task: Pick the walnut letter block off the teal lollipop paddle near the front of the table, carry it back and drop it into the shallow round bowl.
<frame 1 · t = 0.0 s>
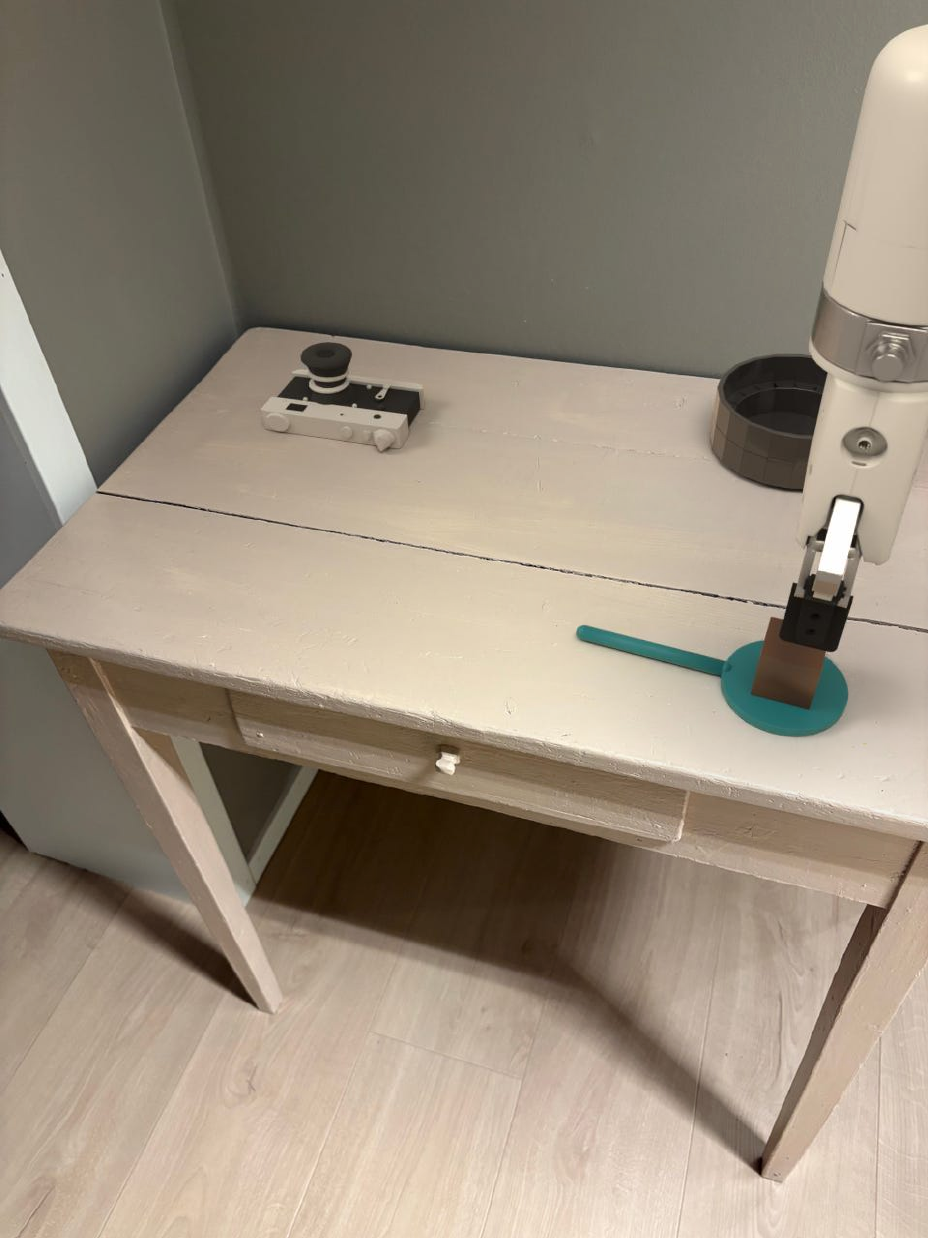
hand: (820, 589, 58), 14 cm above the table, tool pointing down, fingers open, 9 cm apart
block: (784, 682, 71), point 1 cm above the table, touching teal lollipop paddle
camera: (344, 421, 101), on the table
teal lollipop paddle: (782, 689, 71), on the table, touching block
shallow round bowl: (788, 447, 94), on the table
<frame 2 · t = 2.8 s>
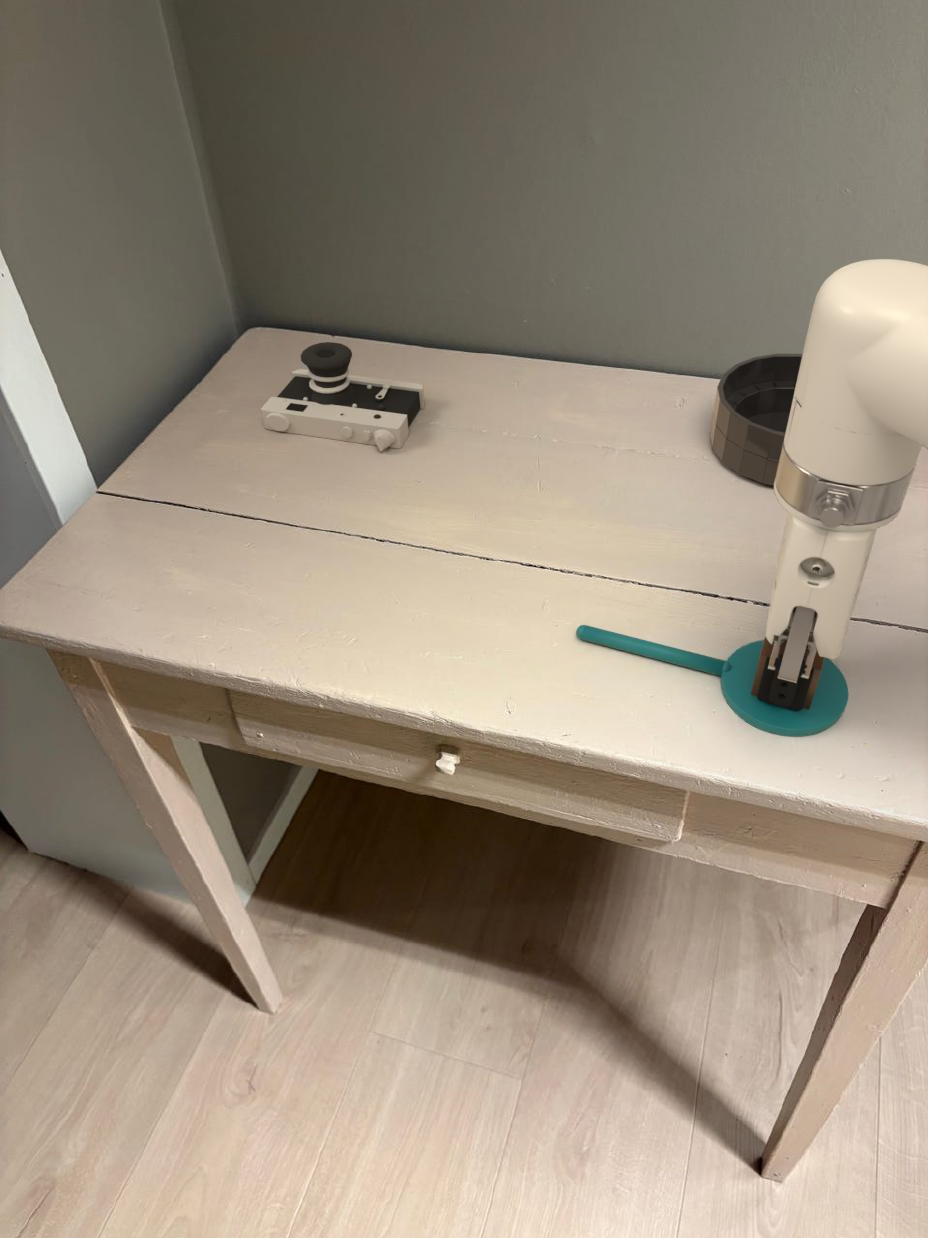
hand: (785, 677, 70), 1 cm above the table, tool pointing down, fingers closed on block, 4 cm apart
block: (784, 682, 71), point 1 cm above the table, touching gripper, teal lollipop paddle
everything else where it was.
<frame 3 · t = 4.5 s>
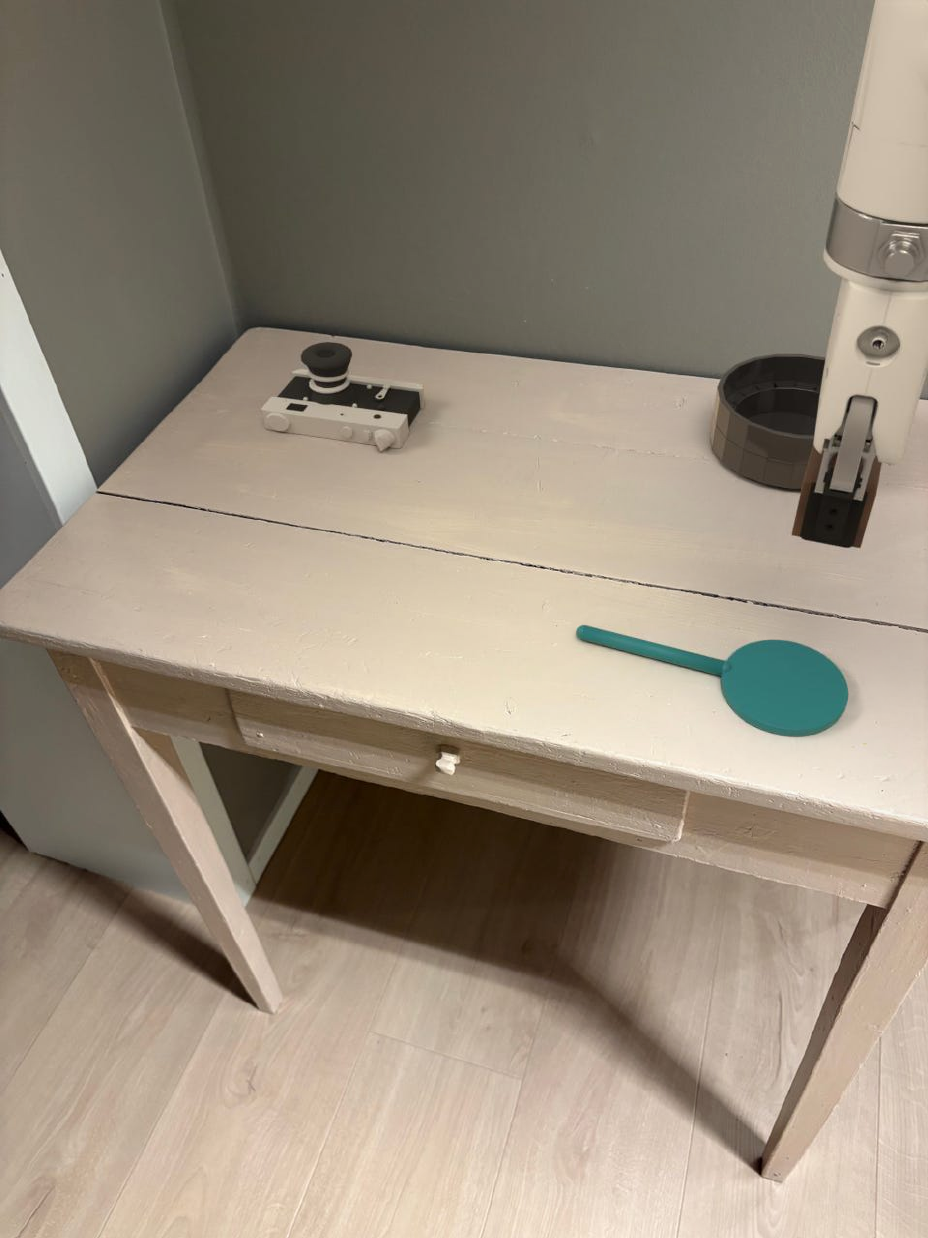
hand: (831, 515, 61), 15 cm above the table, tool pointing down, fingers closed on block, 4 cm apart
block: (829, 522, 62), point 15 cm above the table, touching gripper
teal lollipop paddle: (782, 689, 71), on the table
everything else where it was.
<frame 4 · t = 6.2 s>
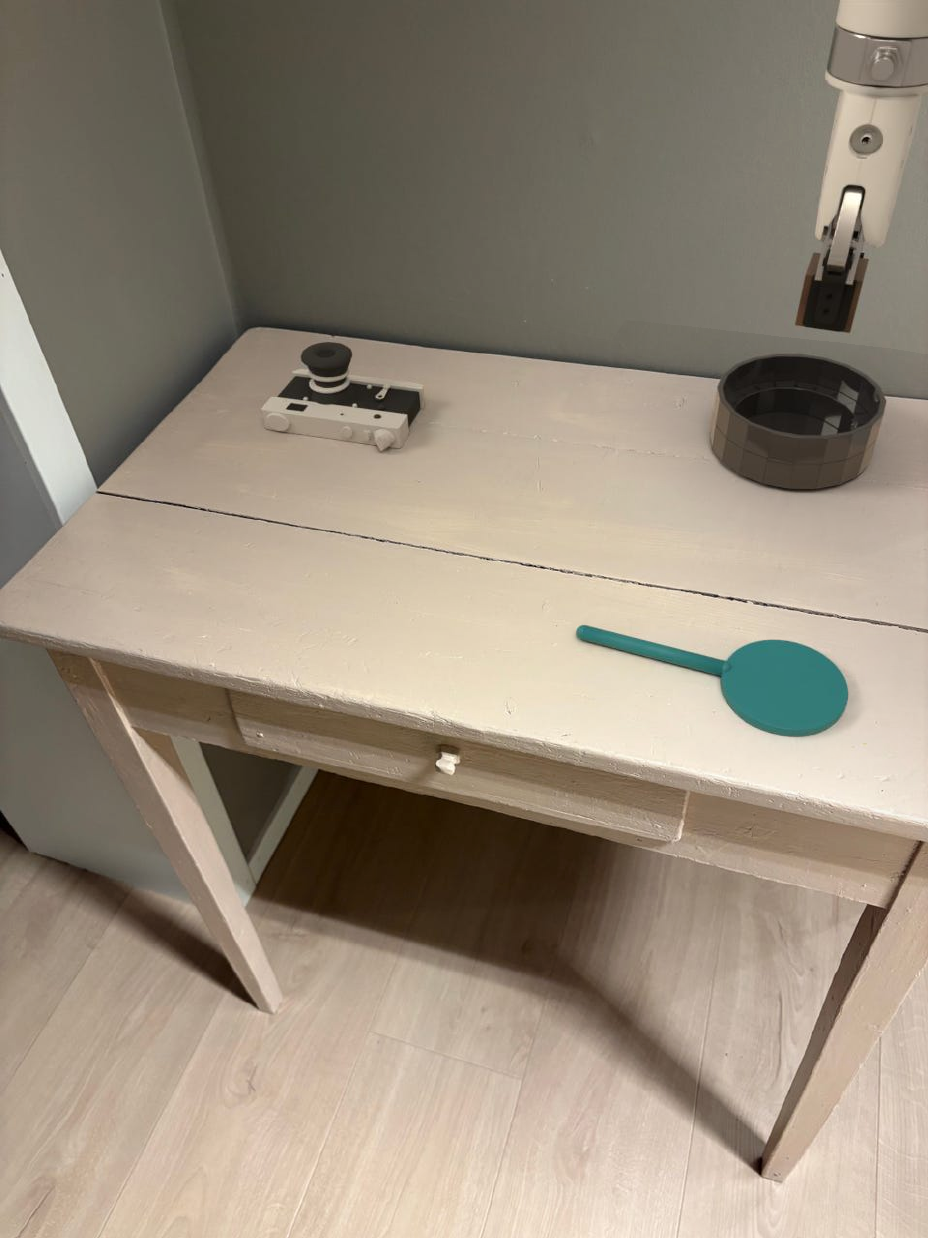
hand: (828, 311, 76), 18 cm above the table, tool pointing down, fingers closed on block, 4 cm apart
block: (825, 317, 77), point 17 cm above the table, touching gripper
everything else where it was.
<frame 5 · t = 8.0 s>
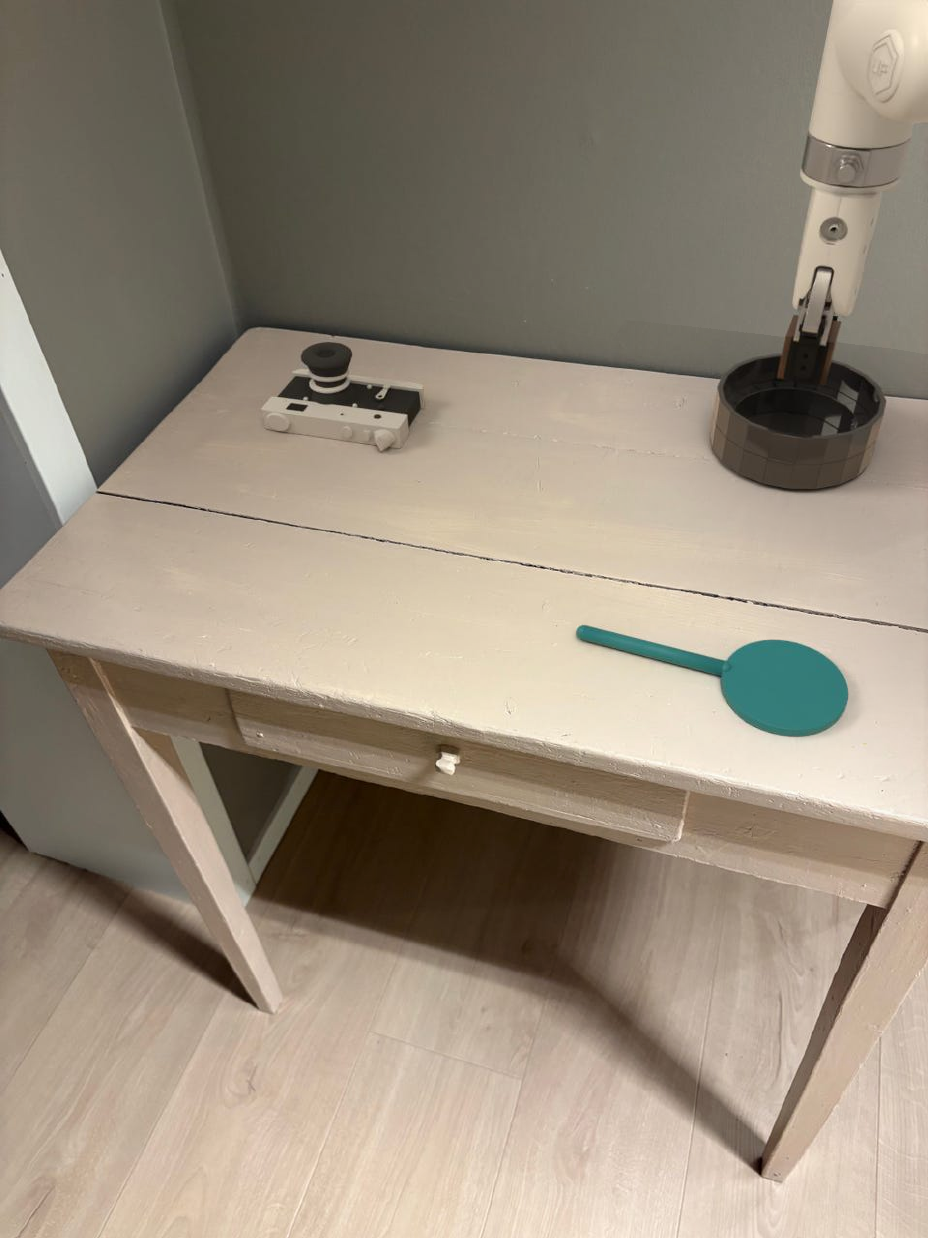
hand: (806, 365, 88), 9 cm above the table, tool pointing down, fingers closed on block, 4 cm apart
block: (804, 370, 88), point 8 cm above the table, touching gripper
everything else where it was.
when the fingers open (5 cm above the table, at t = 9.4 s): block drops 4 cm, resting on shallow round bowl.
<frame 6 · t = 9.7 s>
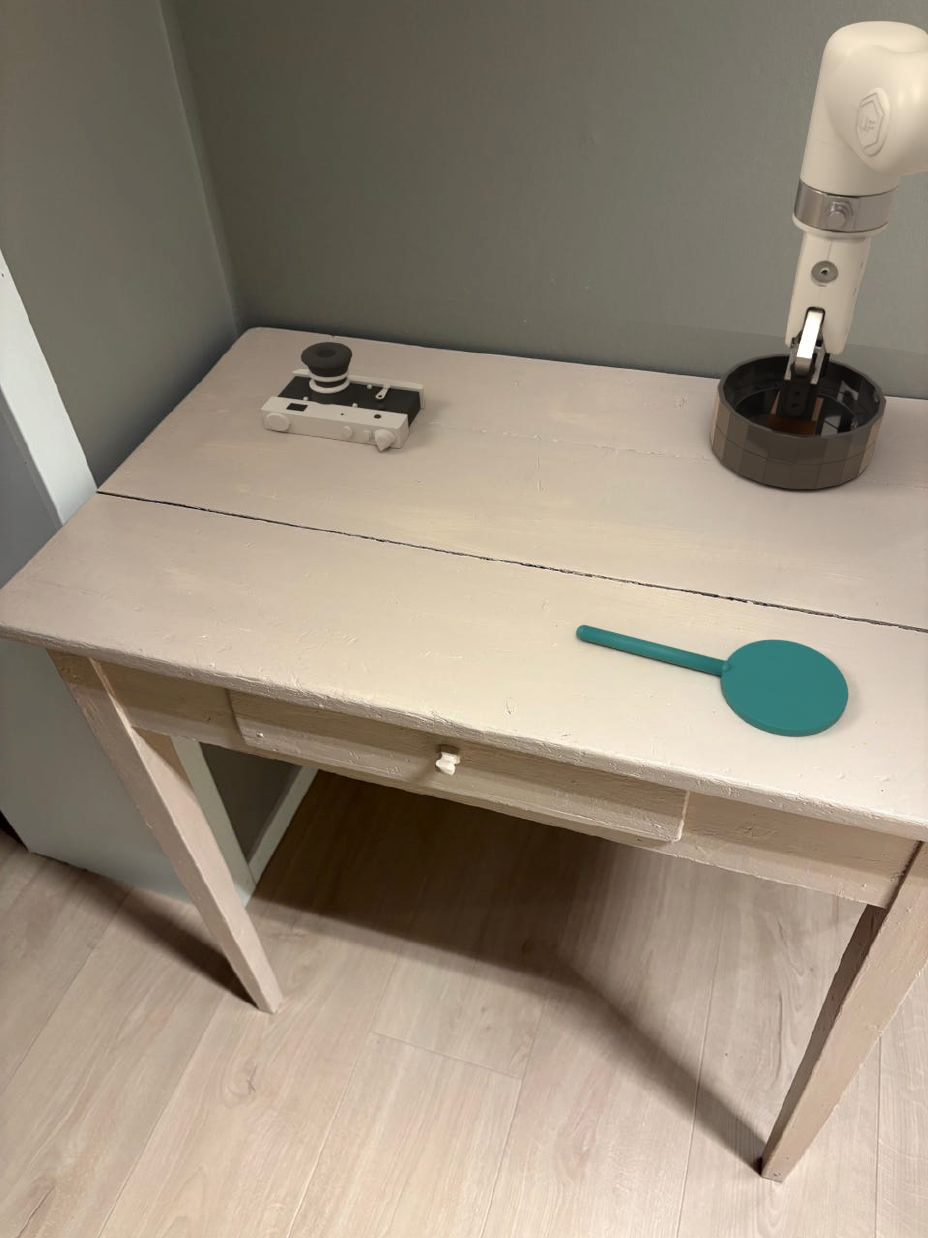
hand: (800, 394, 90), 6 cm above the table, tool pointing down, fingers open, 7 cm apart
block: (788, 442, 93), point 1 cm above the table, touching shallow round bowl
everything else where it was.
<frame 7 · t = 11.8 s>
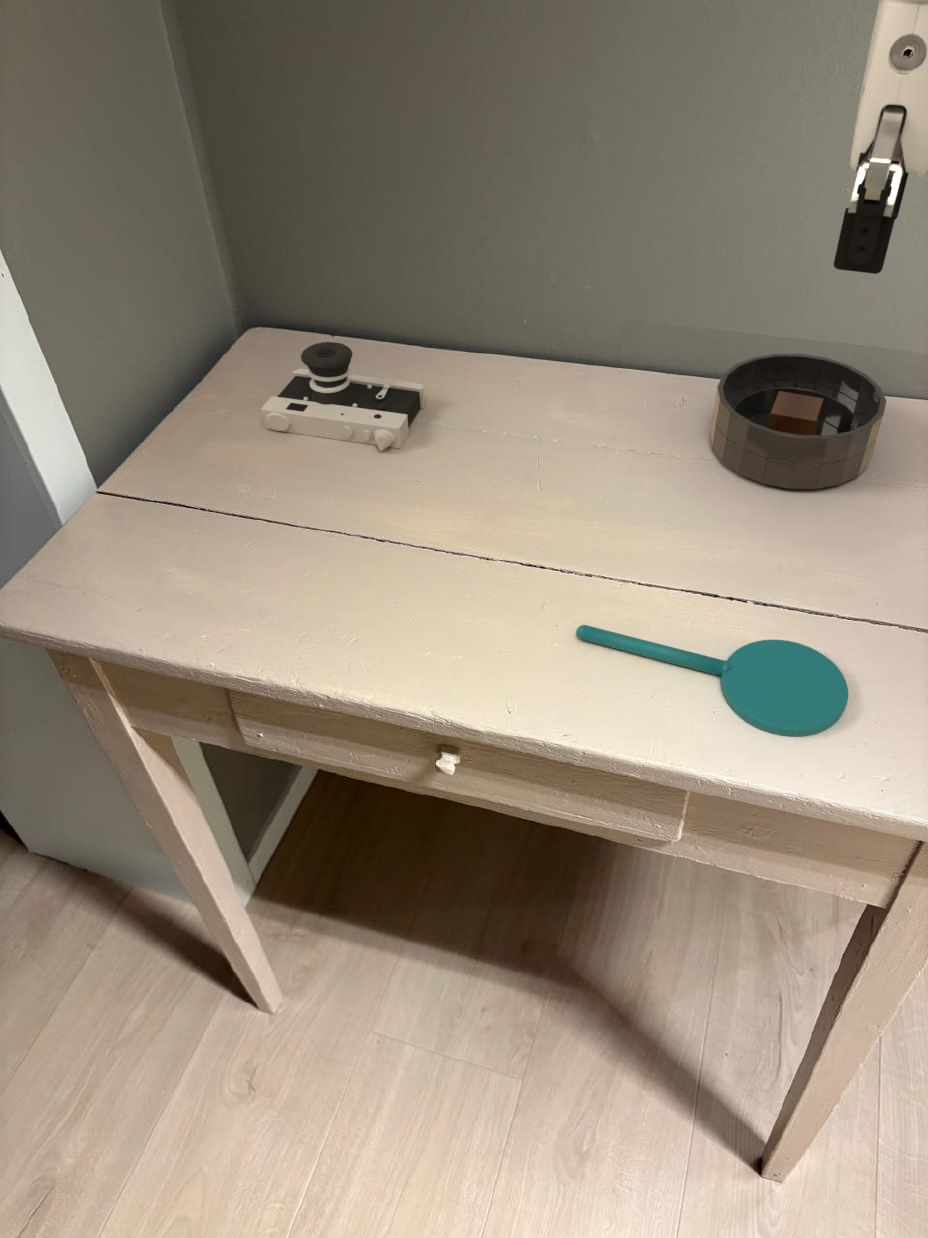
hand: (866, 242, 70), 24 cm above the table, tool pointing down, fingers open, 9 cm apart
nothing on the table moved.
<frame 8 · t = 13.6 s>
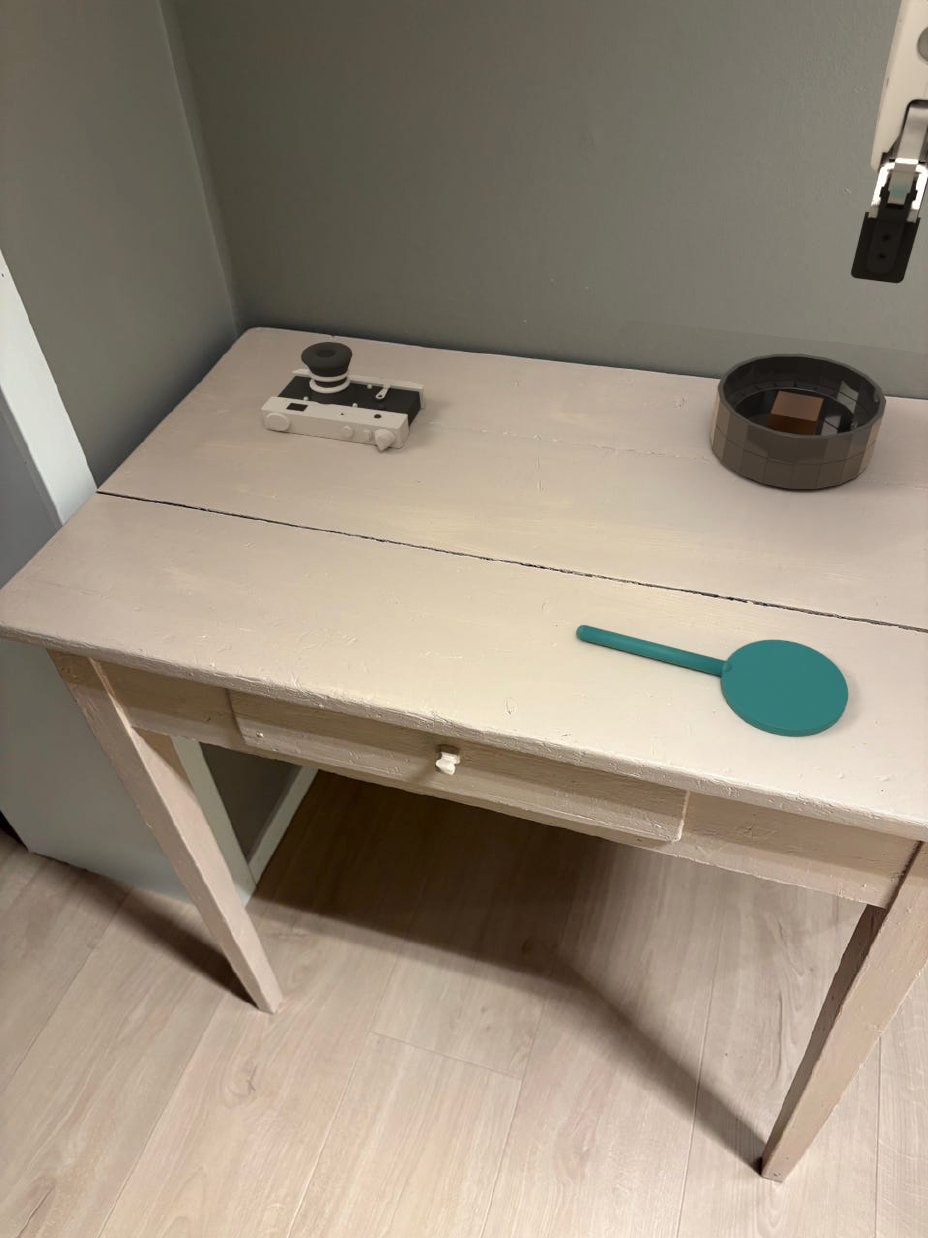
hand: (884, 248, 65), 26 cm above the table, tool pointing down, fingers open, 9 cm apart
nothing on the table moved.
at the end: block inside the target area in the shallow round bowl (0.0 cm from its centre), point 0.5 cm above the shallow round bowl's base; the gripper is holding nothing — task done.
